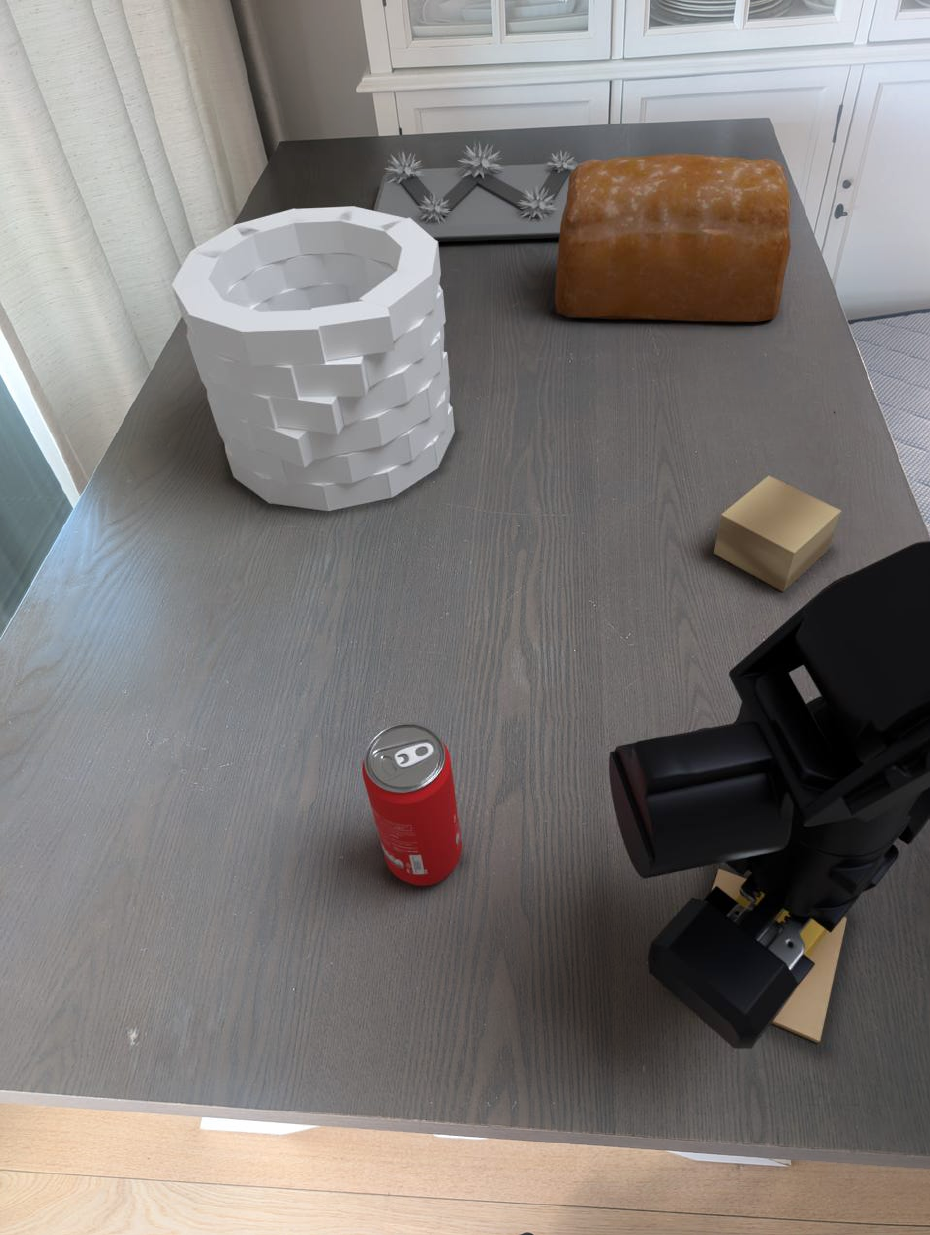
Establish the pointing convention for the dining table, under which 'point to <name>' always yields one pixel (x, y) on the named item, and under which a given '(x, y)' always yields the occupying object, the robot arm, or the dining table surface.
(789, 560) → the birch block
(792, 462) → the dining table surface
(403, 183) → the decorative plate
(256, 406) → the basket
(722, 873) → the cork coaster
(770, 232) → the bread
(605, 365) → the dining table surface
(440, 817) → the beverage can
